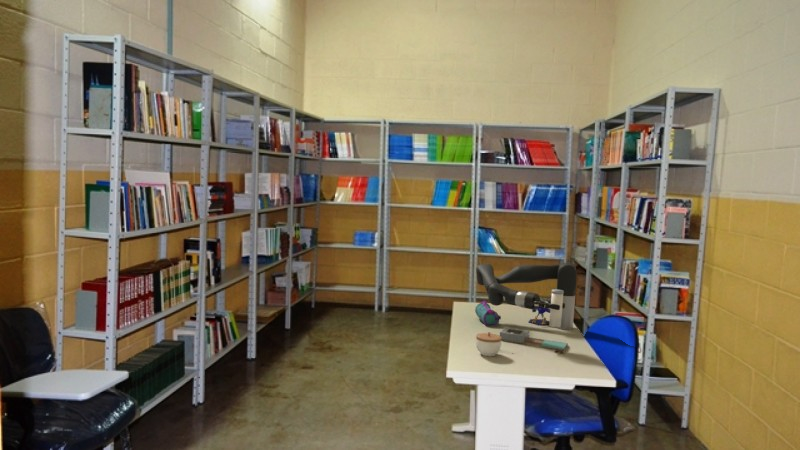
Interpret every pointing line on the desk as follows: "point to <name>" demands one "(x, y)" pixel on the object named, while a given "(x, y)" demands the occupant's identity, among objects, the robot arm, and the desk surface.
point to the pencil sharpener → (540, 321)
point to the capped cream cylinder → (556, 314)
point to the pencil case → (487, 314)
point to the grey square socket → (514, 335)
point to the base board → (538, 344)
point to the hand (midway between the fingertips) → (561, 306)
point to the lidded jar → (488, 343)
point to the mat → (554, 344)
